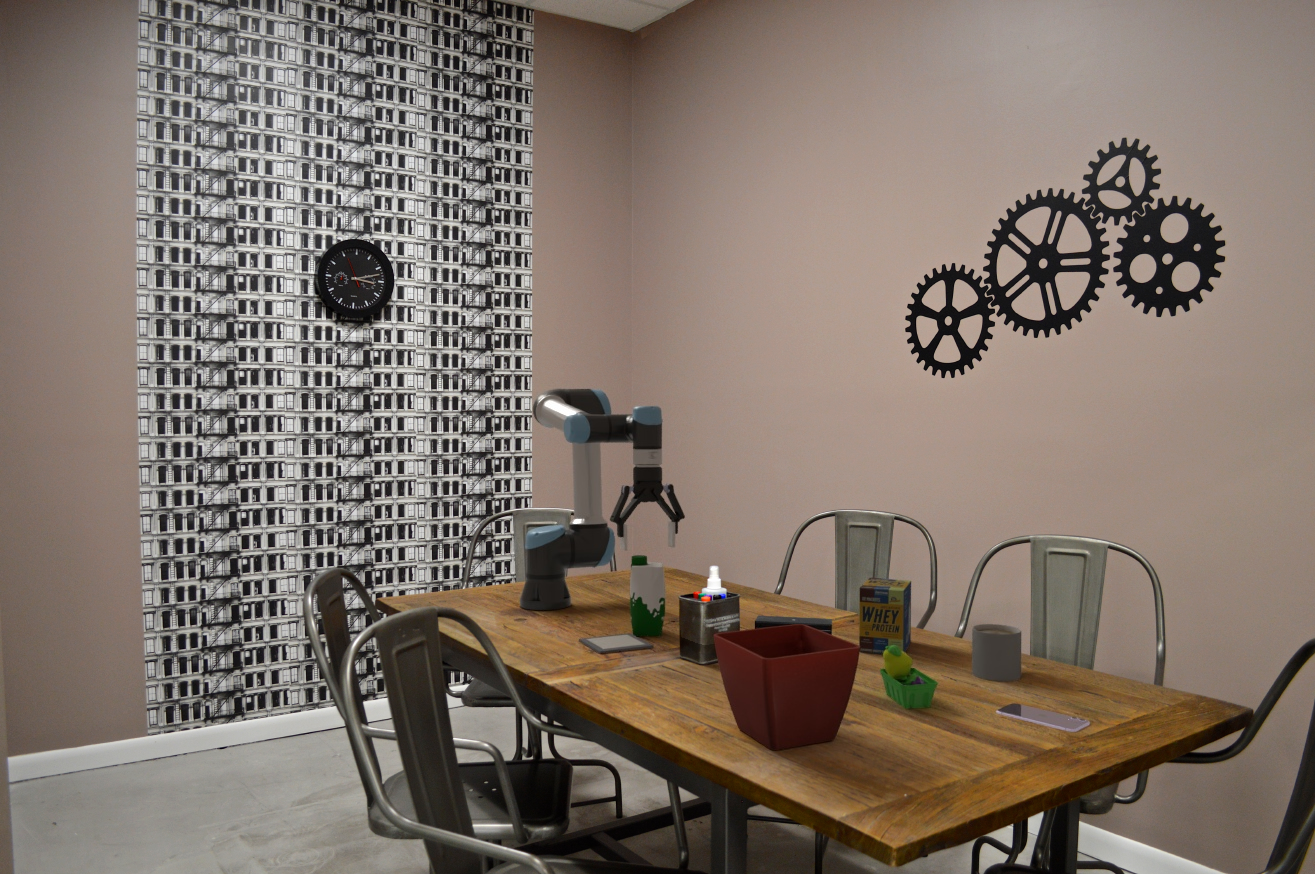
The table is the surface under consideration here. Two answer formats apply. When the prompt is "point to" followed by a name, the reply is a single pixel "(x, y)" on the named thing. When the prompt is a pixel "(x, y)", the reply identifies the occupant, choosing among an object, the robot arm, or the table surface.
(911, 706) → the fruit basket
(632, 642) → the mat
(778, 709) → the plant pot
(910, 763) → the table surface
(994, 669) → the coffee mug
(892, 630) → the protein box
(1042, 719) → the mobile phone
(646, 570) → the soya milk
